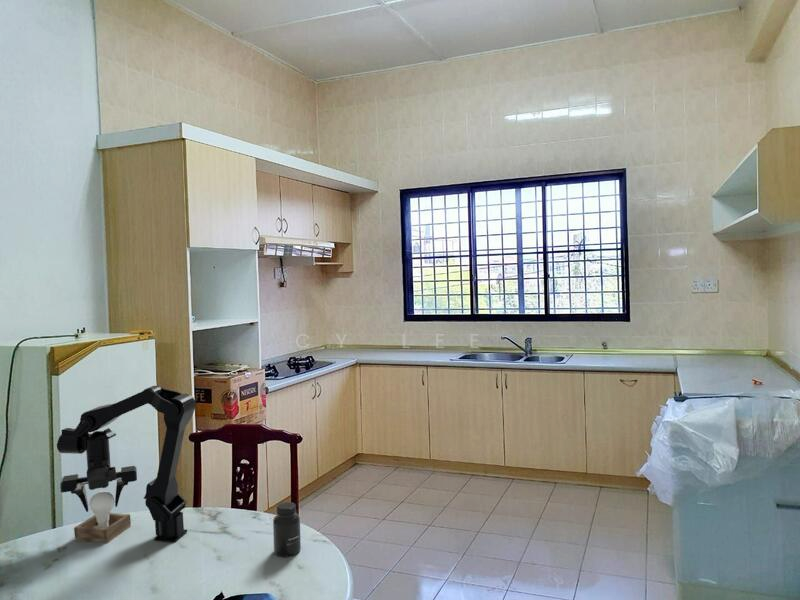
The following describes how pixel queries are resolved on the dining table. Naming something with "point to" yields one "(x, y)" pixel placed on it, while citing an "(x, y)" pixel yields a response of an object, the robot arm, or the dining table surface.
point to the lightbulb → (102, 507)
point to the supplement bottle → (286, 530)
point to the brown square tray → (95, 534)
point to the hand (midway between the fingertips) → (101, 508)
